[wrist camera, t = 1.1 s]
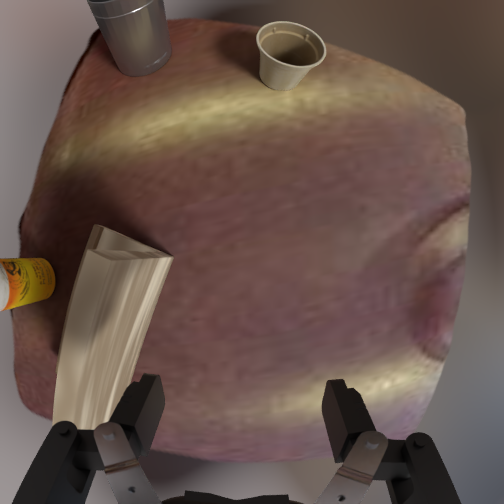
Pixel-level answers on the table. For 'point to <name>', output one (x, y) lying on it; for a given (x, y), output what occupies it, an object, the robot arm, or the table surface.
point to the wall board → (106, 325)
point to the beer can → (25, 281)
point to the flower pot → (287, 53)
